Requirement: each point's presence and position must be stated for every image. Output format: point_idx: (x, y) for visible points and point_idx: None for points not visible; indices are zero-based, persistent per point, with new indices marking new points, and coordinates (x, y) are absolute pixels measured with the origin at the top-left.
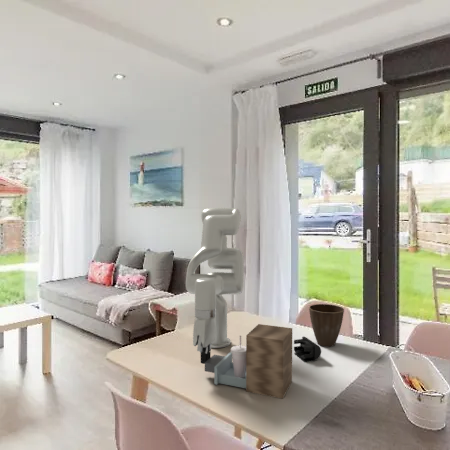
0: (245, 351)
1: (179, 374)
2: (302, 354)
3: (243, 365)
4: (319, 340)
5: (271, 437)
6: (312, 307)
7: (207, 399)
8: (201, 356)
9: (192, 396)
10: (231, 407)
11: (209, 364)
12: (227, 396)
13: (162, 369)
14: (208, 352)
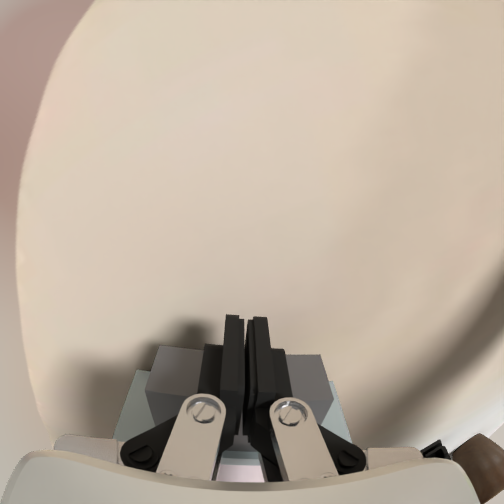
0: None
1: (178, 122)
2: (425, 454)
3: None
4: (465, 452)
5: (53, 445)
6: None
7: (47, 355)
8: (221, 362)
9: (27, 303)
10: (66, 410)
11: (152, 408)
12: (101, 404)
13: None
14: (248, 435)
